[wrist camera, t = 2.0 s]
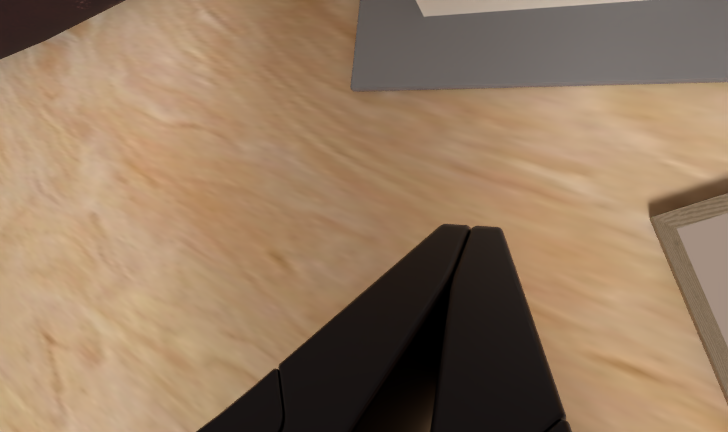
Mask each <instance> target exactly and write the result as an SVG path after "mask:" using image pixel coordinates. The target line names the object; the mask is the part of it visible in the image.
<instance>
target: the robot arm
mask: <svg viewBox="0 0 728 432" xmlns="http://www.w3.org/2000/svg"><path fill="white" fill-rule="evenodd" d="M278 368H279V370H278V369H273V370H272V371H271V372H269V373H268V374H267V375H266V376H265V377H264V378H262V379H261V380H260V381H259V382H258V383H257V384H256V385H254V386H253V387H252V388H251V389H250V390H248V391H247V392H246V393H245V394H243V395H242V396H241V397H240V398H239V399H237V400H236V401H235V402H234V403H232V404H231V405H230V406H229V407H228V408H226V409H225V410H224V411H223V412H221V413H220V414H219V415H218V416H216V417H215V418H214V419H212V420H211V421H210V422H208V423H207V424H206V425H204V426H203V427H202V428H200V429H199V430H198V431H196V432H572V431H571V428H570V425H569V423H568V421H566V414H565V412H564V409H563V406H562V403H561V400H560V397H559V394H558V391H557V388H556V385H555V382H554V379H553V376H552V373H551V371H550V368H549V365H548V362H547V359H546V356H545V353H544V350H543V347H542V344H541V341H540V338H539V335H538V333H537V330H536V327H535V324H534V321H533V318H532V315H531V312H530V309H529V306H528V303H527V300H526V297H525V294H524V292H523V289H522V286H521V283H520V280H519V277H518V274H517V271H516V268H515V265H514V262H513V259H512V256H511V253H510V251H509V248H508V245H507V242H506V239H505V236H504V233H503V231H502V229H501V228H499V227H487V226H475V227H473V228H472V229H471V228H470V227H469V226H467V225H455V224H443V225H441V226H440V227H438V228H437V229H436V230H435V231H434V232H432V233H431V234H430V235H429V236H428V237H427V238H425V239H424V240H423V241H422V242H421V243H420V244H419V245H417V246H416V247H415V248H414V249H413V250H412V251H410V252H409V253H408V254H407V255H406V256H405V257H403V258H402V259H401V260H400V261H399V262H398V263H396V264H395V265H394V266H393V267H392V268H391V269H389V270H388V271H387V272H386V273H385V274H384V275H383V276H381V277H380V278H379V279H378V280H377V281H376V282H374V283H373V284H372V285H371V286H370V287H369V288H367V289H366V290H365V291H364V292H363V293H362V294H360V295H359V296H358V297H357V298H356V299H355V300H353V301H352V302H351V303H350V304H349V305H348V306H346V307H345V308H344V309H343V310H342V311H341V312H340V313H338V314H337V315H336V316H335V317H334V318H333V319H331V320H330V321H329V322H328V323H327V324H326V325H324V326H323V327H322V328H321V329H320V330H319V331H317V332H316V333H315V334H314V335H313V336H312V337H310V338H309V339H308V340H307V341H306V342H305V343H303V344H302V345H301V346H300V347H299V348H298V349H297V350H295V351H294V352H293V353H292V354H291V355H290V356H288V357H287V358H286V359H285V360H284V361H283V362H281V363H280V364H279V367H278Z"/></svg>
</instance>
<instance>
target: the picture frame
mask: <svg viewBox="0 0 728 432" xmlns="http://www.w3.org/2000/svg"><path fill="white" fill-rule="evenodd" d="M650 221H651V223H652V226H653V228H654V230H655V233H656V235H657V238H658V240H659V242H660V245H661V247H662V249H663V252H664V254H665V257H666V259H667V261H668V264H669V266H670V268H671V271H672V273H673V276H674V278H675V280H676V283H677V285H678V287H679V290H680V292H681V295H682V297H683V299H684V302H685V304H686V306H687V309H688V311H689V314H690V316H691V318H692V321H693V323H694V326H695V328H696V330H697V333H698V335H699V337H700V340H701V342H702V345H703V347H704V349H705V352H706V354H707V356H708V359H709V361H710V364H711V366H712V368H713V371H714V373H715V375H716V378H717V380H718V383H719V385H720V387H721V390H722V392H723V394H724V397H725V399H726V402H727V404H728V193H726V194H723V195H720V196H717V197H714V198H710V199H707V200H704V201H701V202H698V203H695V204H691V205H688V206H685V207H682V208H679V209H676V210H672V211H669V212H666V213H663V214H660V215H657V216H653V217H651V218H650Z"/></svg>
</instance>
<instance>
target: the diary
mask: <svg viewBox="0 0 728 432" xmlns="http://www.w3.org/2000/svg"><path fill="white" fill-rule="evenodd" d="M123 1H125V0H0V59H2V58H4V57H7V56H9V55H12V54H14V53H16V52H19V51H21V50H24V49H26V48H28V47H31V46H33V45H36V44H38V43H40V42H43V41H45V40H47V39H49V38H51V37H53V36H55V35H57V34H59V33H61V32H63V31H65V30H67V29H69V28H71V27H73V26H75V25H77V24H79V23H81V22H83V21H85V20H87V19H89V18H91V17H93V16H95V15H97V14H99V13H101V12H103V11H105V10H107V9H109V8H111V7H113V6H115V5H117V4H119V3H121V2H123Z"/></svg>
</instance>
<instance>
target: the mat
mask: <svg viewBox="0 0 728 432" xmlns="http://www.w3.org/2000/svg"><path fill="white" fill-rule="evenodd" d="M705 82H728V0H644V1H630V2H616V3H603V4H589V5H576V6H562V7H549V8H535V9H521V10H508V11H494V12H481V13H467V14H453V15H440V16H426V17H424V16H423V14H422V12H421V10H420V8H419V6H418V4H417V2H416V0H360V6H359V15H358V24H357V33H356V42H355V51H354V61H353V70H352V79H351V89H352V90H353V91H389V90H429V89H468V88H508V87H547V86H587V85H626V84H666V83H705Z"/></svg>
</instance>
